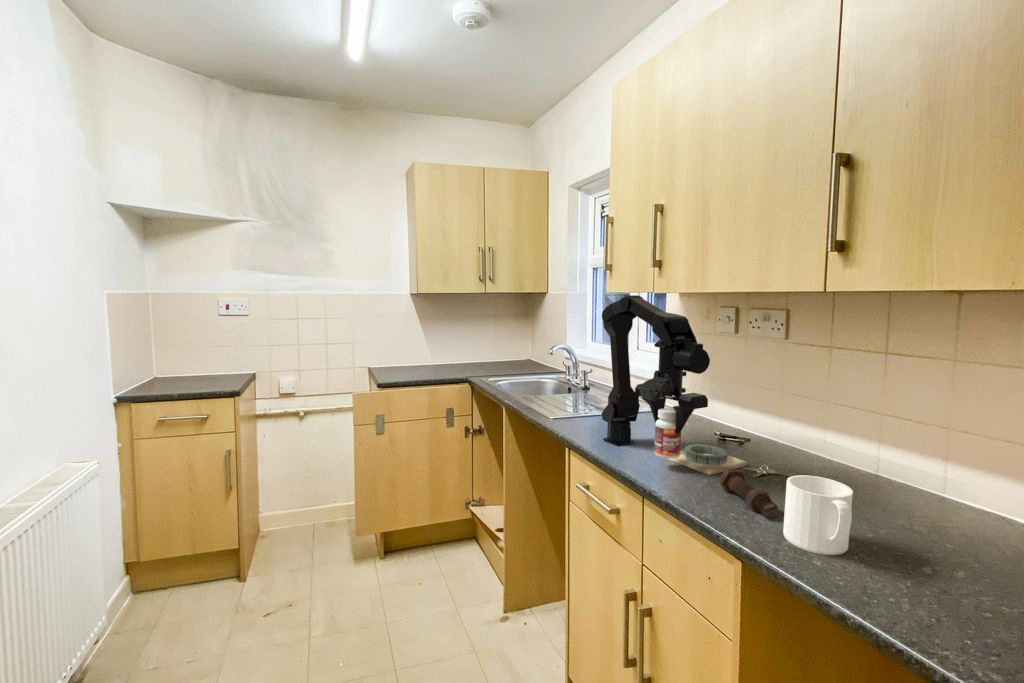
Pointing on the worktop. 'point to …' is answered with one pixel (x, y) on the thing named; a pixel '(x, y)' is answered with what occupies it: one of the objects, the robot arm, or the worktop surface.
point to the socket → (707, 459)
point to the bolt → (748, 493)
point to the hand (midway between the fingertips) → (668, 429)
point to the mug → (818, 514)
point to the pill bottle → (667, 435)
